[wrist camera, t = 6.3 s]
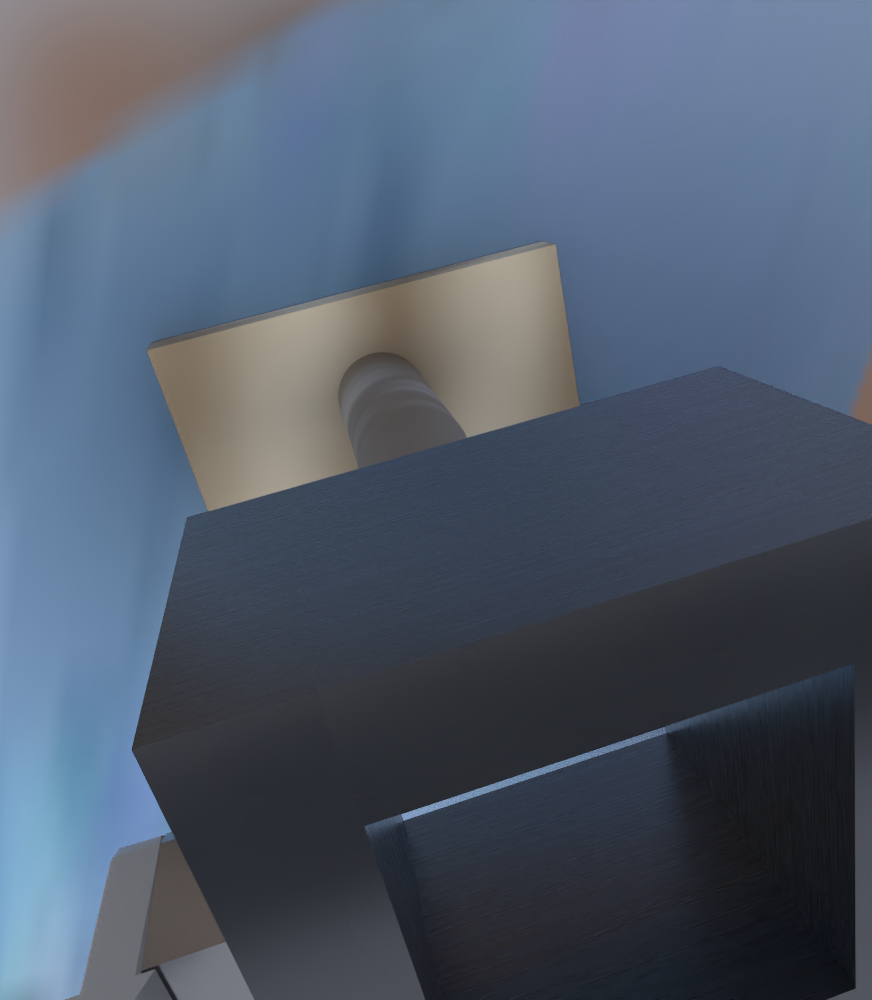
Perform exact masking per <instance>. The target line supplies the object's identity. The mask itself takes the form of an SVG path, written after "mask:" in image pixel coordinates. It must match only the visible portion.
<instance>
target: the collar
mask: <svg viewBox="0 0 872 1000" xmlns="http://www.w3.org/2000/svg"><path fill="white" fill-rule="evenodd" d="M662 727H665V728H666V734H663V735H660V736H657V737H654V738H651V739H648V740H645V741H642V742H639V743H636V744H633V745H630V746H627V747H624V748H621V749H618V750H615V751H612V752H609V753H606V754H603V755H600V756H597V757H594V758H591V759H588V760H585V761H582V762H579V763H576V764H573V765H570V766H567V767H564V768H561V769H558V770H555V771H552V772H549V773H546V774H543V775H540V776H537V777H534V778H531V779H528V780H525V781H522V782H519V783H516V784H513V785H510V786H507V787H504V788H501V789H498V790H495V791H492V792H489V793H486V794H483V795H480V796H477V797H474V798H471V799H468V800H465V801H462V802H459V803H456V804H453V805H450V806H447V807H444V808H441V809H438V810H435V811H432V812H429V813H426V814H423V815H420V816H417V817H414V818H411V819H408V820H405V821H403V818H402V815H401V814H403V813H406V812H409V811H412V810H415V809H418V808H421V807H424V806H427V805H430V804H433V803H436V802H439V801H442V800H445V799H448V798H451V797H454V796H457V795H460V794H463V793H466V792H469V791H472V790H475V789H478V788H481V787H484V786H487V785H490V784H493V783H496V782H499V781H502V780H505V779H508V778H511V777H514V776H517V775H520V774H523V773H526V772H529V771H532V770H536V769H539V768H542V767H545V766H548V765H551V764H554V763H557V762H560V761H563V760H566V759H569V758H572V757H575V756H578V755H581V754H584V753H587V752H590V751H593V750H596V749H599V748H602V747H605V746H608V745H611V744H614V743H617V742H620V741H623V740H626V739H629V738H632V737H635V736H638V735H641V734H644V733H647V732H650V731H653V730H656V729H659V728H662ZM132 752H133V754H134V756H135V758H136V760H137V762H138V764H139V766H140V768H141V770H142V772H143V774H144V776H145V778H146V780H147V782H148V784H149V786H150V788H151V790H152V792H153V794H154V796H155V798H156V800H157V802H158V805H159V807H160V809H161V811H162V813H163V815H164V817H165V819H166V821H167V823H168V825H169V827H170V829H171V831H172V833H173V835H174V837H175V839H176V841H177V843H178V845H179V847H180V849H181V851H182V853H183V855H184V858H185V860H186V862H187V864H188V866H189V868H190V870H191V872H192V874H193V876H194V878H195V880H196V882H197V884H198V886H199V888H200V890H201V892H202V894H203V896H204V898H205V900H206V902H207V904H208V906H209V908H210V910H211V913H212V915H213V917H214V919H215V921H216V923H217V925H218V927H219V929H220V931H221V933H222V935H223V937H224V939H225V941H226V943H227V945H228V947H229V949H230V951H231V953H232V955H233V957H234V959H235V961H236V963H237V965H238V968H239V970H240V972H241V974H242V976H243V978H244V980H245V982H246V984H247V986H248V988H249V990H250V992H251V994H252V996H253V998H254V1000H872V425H871V424H868V423H866V422H863V421H860V420H858V419H855V418H853V417H850V416H847V415H845V414H842V413H840V412H837V411H834V410H832V409H829V408H826V407H824V406H821V405H819V404H816V403H813V402H811V401H808V400H806V399H803V398H800V397H798V396H795V395H792V394H790V393H787V392H785V391H782V390H779V389H777V388H774V387H772V386H769V385H766V384H764V383H761V382H758V381H756V380H753V379H751V378H748V377H745V376H743V375H740V374H738V373H735V372H732V371H730V370H727V369H724V368H722V367H719V366H718V367H714V368H711V369H707V370H704V371H700V372H697V373H693V374H690V375H686V376H683V377H679V378H676V379H672V380H669V381H665V382H662V383H658V384H655V385H651V386H648V387H644V388H641V389H637V390H634V391H630V392H627V393H623V394H620V395H616V396H612V397H609V398H605V399H602V400H598V401H595V402H591V403H588V404H584V405H581V406H577V407H574V408H570V409H567V410H563V411H560V412H556V413H553V414H549V415H546V416H542V417H539V418H535V419H532V420H528V421H525V422H521V423H518V424H514V425H511V426H507V427H504V428H500V429H497V430H493V431H489V432H486V433H482V434H479V435H475V436H472V437H468V438H465V439H461V440H458V441H454V442H451V443H447V444H444V445H440V446H437V447H433V448H430V449H426V450H423V451H419V452H416V453H412V454H409V455H405V456H402V457H398V458H395V459H391V460H388V461H384V462H381V463H377V464H373V465H370V466H366V467H363V468H359V469H356V470H352V471H349V472H345V473H342V474H338V475H335V476H331V477H328V478H324V479H321V480H317V481H314V482H310V483H307V484H303V485H300V486H296V487H293V488H289V489H286V490H282V491H279V492H275V493H272V494H268V495H265V496H261V497H258V498H254V499H250V500H247V501H243V502H240V503H236V504H233V505H229V506H226V507H222V508H219V509H215V510H212V511H208V512H205V513H201V514H198V515H194V516H191V517H187V520H186V524H185V529H184V533H183V537H182V541H181V545H180V549H179V554H178V558H177V562H176V566H175V570H174V575H173V579H172V583H171V587H170V591H169V595H168V600H167V604H166V608H165V612H164V616H163V621H162V625H161V629H160V633H159V637H158V641H157V646H156V650H155V654H154V658H153V662H152V666H151V671H150V675H149V679H148V683H147V687H146V692H145V696H144V700H143V704H142V708H141V712H140V717H139V721H138V725H137V729H136V733H135V738H134V742H133V746H132Z"/></svg>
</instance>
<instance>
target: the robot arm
mask: <svg viewBox="0 0 872 1000" xmlns="http://www.w3.org/2000/svg"><path fill="white" fill-rule="evenodd" d="M66 1000H254V998H253V996H252V994H251V992H250V990H249V988H248V986H247V984H246V982H245V980H244V978H243V976H242V974H241V972H240V970H239V968H238V965H237V963H236V961H235V959H234V957H233V955H232V953H231V951H230V949H229V947H228V945H227V943H226V941H225V939H224V937H223V935H222V933H221V931H220V929H219V927H218V925H217V923H216V921H215V919H214V917H213V915H212V913H211V910H210V908H209V906H208V904H207V902H206V900H205V898H204V896H203V894H202V892H201V890H200V888H199V886H198V884H197V882H196V880H195V878H194V876H193V874H192V872H191V870H190V868H189V866H188V864H187V862H186V860H185V858H184V855H183V853H182V851H181V849H180V847H179V845H178V843H177V841H176V839H175V837H174V835H173V833H172V832H170V833H167V834H166V835H164V836H160V837H156V838H153V839H150V840H146V841H143V842H140V843H136V844H133V845H130V846H126V847H123V848H120V849H119V850H118V851H117V853H116V854H115V856H114V857H113V858H112V860H111V862H110V866H109V870H108V875H107V879H106V883H105V888H104V892H103V896H102V901H101V905H100V909H99V914H98V918H97V922H96V927H95V931H94V936H93V940H92V944H91V949H90V953H89V957H88V962H87V966H86V970H85V975H84V979H83V983H82V988H81V992H80V995H77V996H74V997H72V998H69V999H66Z"/></svg>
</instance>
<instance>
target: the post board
mask: <svg viewBox="0 0 872 1000" xmlns="http://www.w3.org/2000/svg"><path fill="white" fill-rule="evenodd" d="M147 353H148V355H149V358H150V361H151V363H152V366H153V368H154V371H155V374H156V376H157V379H158V382H159V384H160V387H161V389H162V392H163V395H164V397H165V400H166V402H167V405H168V408H169V410H170V413H171V416H172V418H173V421H174V423H175V426H176V429H177V431H178V434H179V436H180V439H181V442H182V444H183V447H184V450H185V452H186V455H187V457H188V460H189V463H190V465H191V468H192V470H193V473H194V476H195V478H196V481H197V484H198V486H199V489H200V491H201V494H202V497H203V499H204V502H205V505H206V507H207V510H208V511H212V510H215V509H219V508H222V507H226V506H229V505H233V504H236V503H240V502H243V501H247V500H250V499H254V498H258V497H261V496H265V495H268V494H272V493H275V492H279V491H282V490H286V489H289V488H293V487H296V486H300V485H303V484H307V483H310V482H314V481H317V480H321V479H324V478H328V477H331V476H335V475H338V474H342V473H345V472H349V471H352V470H356V469H359V468H363V467H366V466H370V465H373V464H377V463H381V462H384V461H388V460H391V459H395V458H398V457H402V456H405V455H409V454H412V453H416V452H419V451H423V450H426V449H430V448H433V447H437V446H440V445H444V444H447V443H451V442H454V441H458V440H461V439H465V438H468V437H472V436H475V435H479V434H482V433H486V432H489V431H493V430H497V429H500V428H504V427H507V426H511V425H514V424H518V423H521V422H525V421H528V420H532V419H535V418H539V417H542V416H546V415H549V414H553V413H556V412H560V411H563V410H567V409H570V408H574V407H577V406H580V405H579V398H578V392H577V385H576V378H575V371H574V365H573V358H572V351H571V345H570V338H569V331H568V324H567V318H566V311H565V304H564V298H563V291H562V284H561V277H560V271H559V264H558V257H557V251H556V244H552V243H548V242H544V241H541V242H537V243H534V244H530V245H526V246H522V247H518V248H514V249H510V250H507V251H503V252H499V253H495V254H491V255H487V256H483V257H480V258H476V259H472V260H468V261H464V262H460V263H456V264H452V265H449V266H445V267H441V268H437V269H433V270H429V271H425V272H422V273H418V274H414V275H410V276H406V277H402V278H398V279H395V280H391V281H387V282H383V283H379V284H375V285H371V286H368V287H364V288H360V289H356V290H352V291H348V292H344V293H341V294H337V295H333V296H329V297H325V298H321V299H317V300H314V301H310V302H306V303H302V304H298V305H294V306H290V307H287V308H283V309H279V310H275V311H271V312H267V313H263V314H260V315H256V316H252V317H248V318H244V319H240V320H236V321H233V322H229V323H225V324H221V325H217V326H213V327H209V328H206V329H202V330H198V331H194V332H190V333H186V334H182V335H179V336H175V337H171V338H167V339H163V340H159V341H155V342H152V344H151V345H150V347H149V348H148V349H147Z"/></svg>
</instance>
